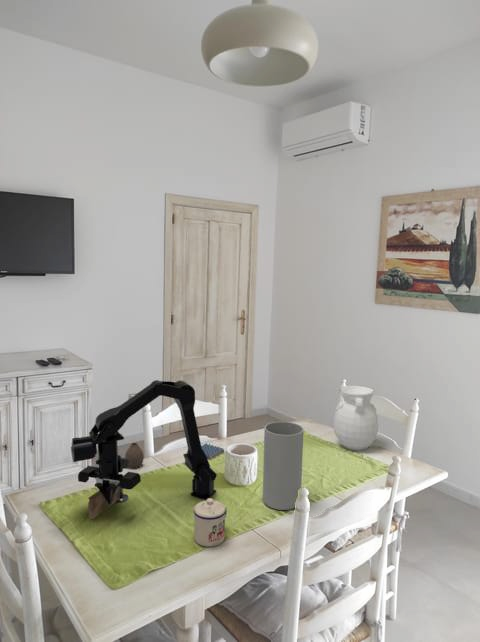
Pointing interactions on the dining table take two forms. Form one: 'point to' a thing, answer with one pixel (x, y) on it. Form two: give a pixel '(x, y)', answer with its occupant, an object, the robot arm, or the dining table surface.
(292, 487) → the cylinder vase
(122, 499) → the hinge pin
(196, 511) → the teacup with lid
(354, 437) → the pitcher
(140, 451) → the vase
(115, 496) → the brown wooden plank
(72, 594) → the dining table surface
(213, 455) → the woven mat
